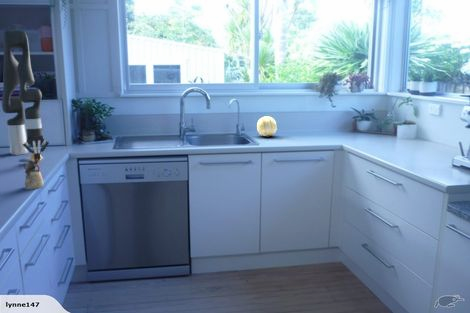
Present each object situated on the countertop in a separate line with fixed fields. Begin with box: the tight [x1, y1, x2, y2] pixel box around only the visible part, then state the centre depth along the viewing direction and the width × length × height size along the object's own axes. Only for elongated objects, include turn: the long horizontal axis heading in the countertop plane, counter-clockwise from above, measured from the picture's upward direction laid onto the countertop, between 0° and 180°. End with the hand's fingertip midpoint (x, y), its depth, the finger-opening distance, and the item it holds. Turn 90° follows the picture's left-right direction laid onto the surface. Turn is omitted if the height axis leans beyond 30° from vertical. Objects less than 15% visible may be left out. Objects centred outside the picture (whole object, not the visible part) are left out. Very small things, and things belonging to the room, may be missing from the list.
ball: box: [29, 153, 43, 163], centre depth 226 cm, size 6×6×6 cm
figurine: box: [23, 159, 44, 190], centre depth 178 cm, size 7×7×12 cm
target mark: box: [19, 156, 45, 163], centre depth 235 cm, size 12×12×1 cm
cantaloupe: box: [256, 115, 278, 138], centre depth 308 cm, size 15×15×15 cm
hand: (37, 160), depth 223 cm, fingers closed
